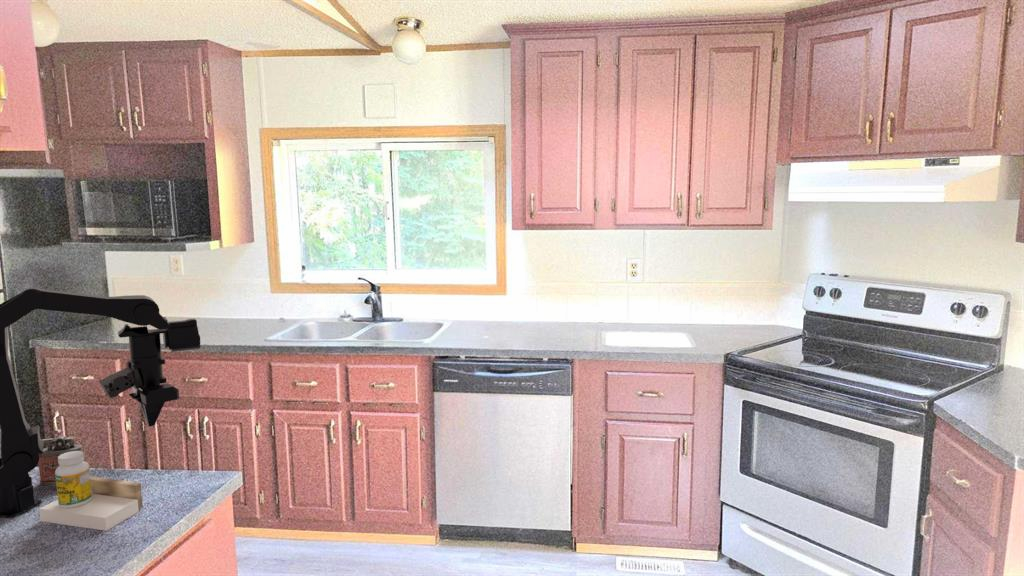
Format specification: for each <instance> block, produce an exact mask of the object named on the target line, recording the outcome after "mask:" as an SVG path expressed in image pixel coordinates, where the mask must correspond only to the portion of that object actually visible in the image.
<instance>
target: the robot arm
mask: <svg viewBox="0 0 1024 576" xmlns="http://www.w3.org/2000/svg"><path fill="white" fill-rule="evenodd" d="M35 310H42V311H44V310H45V311H54V312H63V313H72V314H73V313H74V314H82V315H83V314H84V315H93V316H101V317H109V318H112V319H115V320H118V321H121V322H125V324H124V326H123V327H122V328H121V329H120V330H119V331H118V332H117V335H118V338H128V345H129V346H128V347H129V357H130V359H128V360H127V361H126V363H125V364H126V365H125V366H126V368H124V369H121V370H118V371H116V372H114V373H112V374H110V375H108V376H105V377H104V378H102V379H100V380H99V381H98V383H99V385H100V387H101V388H102V390H103V392H104V393H105V395H106V396H108V397H109V399H110V398H116V397H118V396H120V395H119V394H122V393H123V392H125V391H127V390H130V389H131V388H132V393H129V394H128V397H131V398H132V399H133V400H134V401H136V402H137V403H138V404H139V407H140V409H141V412H142V415H143V417H144V419H145V422H146V424H147V426H148V427H155V425H156V422H157V421H158V418H159V416H160V414H161V412H162V409H163V408H164V405H165V403H167V402H172V401H176V400H177V401H178V399H180V390H179V389H178V387H177V388H176V386H173V385H172V384H170V383H167V378H166V377H165V376H164V373H163V372H164V371H163V369H164V368H163V365H166V359H165V358H163V357H162V346H161V334H162V340H163V341H162V342H163V347H164V349H168V350H169V351H170V353H175V352H185V351H193V350H194V351H195V350H200V349H201V335H200V334H199V327H198V321H197V319H196V318H187V319H184V320H172V321H168V318H166V316H163V315H162V314H161V313H160V308H159V305H158V304H157V303H156V302H155V300H154V299H153V298H151V297H150V296H147V295H143V294H140V295H139V294H138V295H134V294H133V295H117V296H103V295H95V294H87V293H86V294H85V293H80V292H79V293H78V292H69V291H61V290H52V289H43V288H39V287H36V286H29V287H27V288H25V289H23V290H22V291H21V292H20V293H18V294H16V295H14V296H12V297H10V298H9V299H7V300H5V301H3V302H1V303H0V518H7V519H10V518H14V517H15V516H17V515H20V514H22V513H24V512H26V511H28V510H31V509H32V508H34V507H37V506H39V505H40V504H42V503H43V501H42V499H35V491H34V485H33V482H32V481H33V479H32V476H30V474H29V473H30V472H32V471H33V470H35V468H36V467H37V465H39V458H40V454H42V453H43V449H44V447H45V446H44V442H43V441H42V438H41V435H40V425H35V426H33V427H31V426H30V425H29V423H28V422H27V420H26V417H25V414H24V413H25V412H24V409H23V406H22V402H21V398H20V394H19V391H18V387H17V383H16V379H15V376H14V371H13V367H12V364H11V361H10V357H9V327H10V326H11V325H13V324H15V323H16V322H18V321H19V320H21V319H22V318H24V317H25V316H26V315H28V314H29V313H31V312H33V311H35ZM127 323H129V324H133V325H136V326H134V327H133V326H132V327H131V326H130V325H129V324H127ZM148 326H152V327H153V328H154V329H153V328H152V329H148Z"/></svg>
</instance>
